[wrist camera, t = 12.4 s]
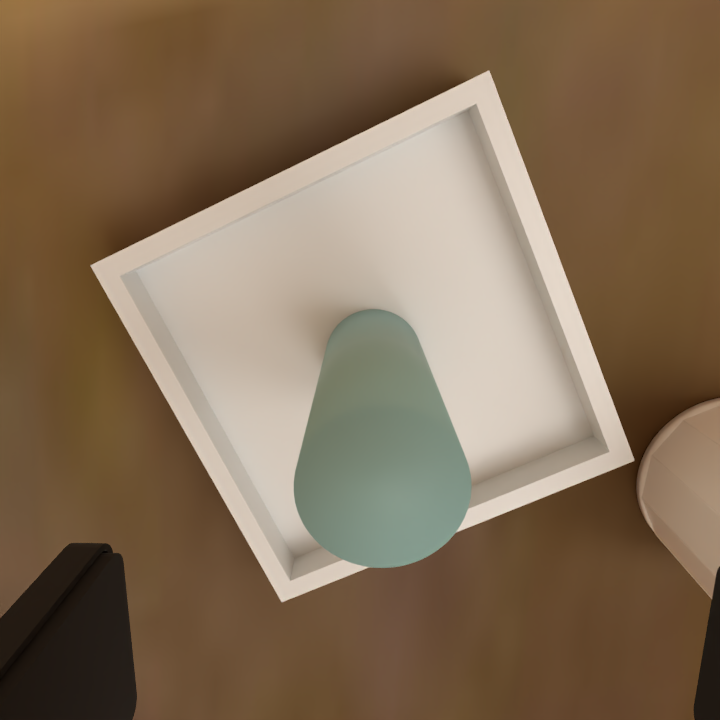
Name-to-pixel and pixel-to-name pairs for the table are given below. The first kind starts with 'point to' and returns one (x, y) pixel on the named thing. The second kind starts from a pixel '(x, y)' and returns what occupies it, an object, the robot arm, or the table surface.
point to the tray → (372, 291)
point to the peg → (380, 449)
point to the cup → (686, 490)
